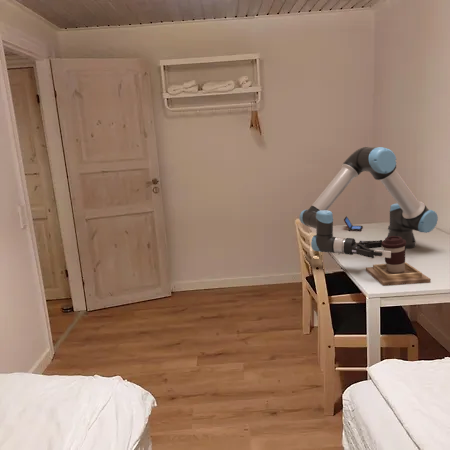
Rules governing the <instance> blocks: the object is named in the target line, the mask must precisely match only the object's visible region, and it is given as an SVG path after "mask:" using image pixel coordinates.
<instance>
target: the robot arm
mask: <svg viewBox="0 0 450 450" xmlns="http://www.w3.org/2000/svg"><path fill="white" fill-rule="evenodd" d="M363 172H369V173H370V175H371V176H372V177H373V178H374V180H376V181H380V182H381V184H382V185H383V186H384V188H385V189H386V190H387V192H388V193H389V194H390V196H391V197H392V198H393V200H394V201H395V202H396V203H393V204H390V206H389V225H390V230H389V229H388V230H389V231H388V234H387V236H386V238H387V237H390V236H399V237H401V238H402V239H404V240H406V246H405V249H412V248H415V247H416V246H417V245H416V244H417V241H416V238H415V234H414V232H413V231H416V232H419V233H424V234H427V233H430V232H432V231H433V230H434V229H435V227H436V226H437V224H438V219H439V217H438V214H437V212H436V211H435V210H433V209H429V208H428V207H427V206H426V204H425V203H424V202H423V201H420V200H418V199H417V197H416V195H414V193H413V191H412V190H411V189H410V188H409V186H408V185H407V183H406V181H404V179H403V177H401V175H400V173H399V172H398V171H397V157H396V154H395V153H394V152H393V150H391V149H389V148H386V147H382V146H379V147H376V146H374V147H369V146H367V147H366V146H365V147H360V148H359V149H357V150H355V151H354V152H352V153H351V154H350V155H349V156H348V157H347V158H346V159H345V160H344V162H343V163H342V165H341V169H340V170H339V171H338V172H337V173H336V174H335V176H334V177H333V179H331V181H330V182H329V183H328V185H327V186H326V187H325V188H324V190H323V191H321V193H320V195H319V196H318V197H317V198H316V200H315V201H314V202H313V203H312V204H311V205H310V207H308V209H303V210H302V211H301V212H300V214H299V221H300V223H301V224H303V225H304V226H306V227H310V228H313V229H316V235H313V236H312V238H311V242H310V247H311V249H312V250H313V251H315V252H320V253H332V254H338V255H341V254H342V255H344V254H345V255H348V256H349V255H350V256H352V255H359V256H363V257H366V258H370V259H374V258H376V257H378V258H385V257H386V258H391V251H384V250H381V249H384V247H382V241H383V239H380V240H359V242H356V238H354V237H353V238H352V237H347V238H346V237H344V236H343V237H342V236H340V237H339V236H334V232H333V231H334V215H333V212H332V211H331V210H329V209H330V208H331V207H332V205H333V204H334V203H335V201H337V199H338V198H339V196H341V194H342V193H343V192H344V190H345V189H346V188H347V187H348V186H349V185H350V183H351V182H352V181H353V179H354V178H358V177H359V175H360V174H361V173H363ZM379 248H381V249H379Z"/></svg>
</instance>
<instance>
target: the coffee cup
mask: <svg viewBox="0 0 450 450" xmlns="http://www.w3.org/2000/svg"><path fill="white" fill-rule="evenodd" d="M405 246H406V240H404V239H402V238H401V237H399V236H390V237H387V236H386V237H385V238H384V240H382V247H384V248H383V251H391V258H386V257H384V262H385V264H386V266H387V271H388V272H390V273H401V272H403V271H404V270H405V262H406V248H405ZM382 247H381V248H382Z"/></svg>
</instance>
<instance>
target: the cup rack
mask: <svg viewBox="0 0 450 450" xmlns="http://www.w3.org/2000/svg"><path fill="white" fill-rule="evenodd" d="M365 272H366V273H368V275H370V276H371V277H372V278H374V279H375V280H376V281H377V282H378V283H379V284H380V285H382V286H383V287H386V286H388V287H389V286H397V285H399V286H400V285H412V284H428V283H431V282H432V281H431V279H432V278H430V277H429V276H427V275H425V274H423V273H422V272H421V271H420V270H419V269H417V268H415V267H414V266H413V265H411V264H409V263H407V262H406V261H405V270H404V271H403V272H401V273H390V272H388V271H387V266H386V263H378V264H376V263H375V264H372V266H369V267H365Z"/></svg>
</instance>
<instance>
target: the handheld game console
mask: <svg viewBox="0 0 450 450" xmlns="http://www.w3.org/2000/svg"><path fill="white" fill-rule="evenodd" d="M343 222H344V223H345V225H346V227H347V228H348V231H349V232H362V231H363V227H364V226H363V225H353V224H352V222H351V221H350V219H349V218H348V216H347V215H345V217H344V218H343Z"/></svg>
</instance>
